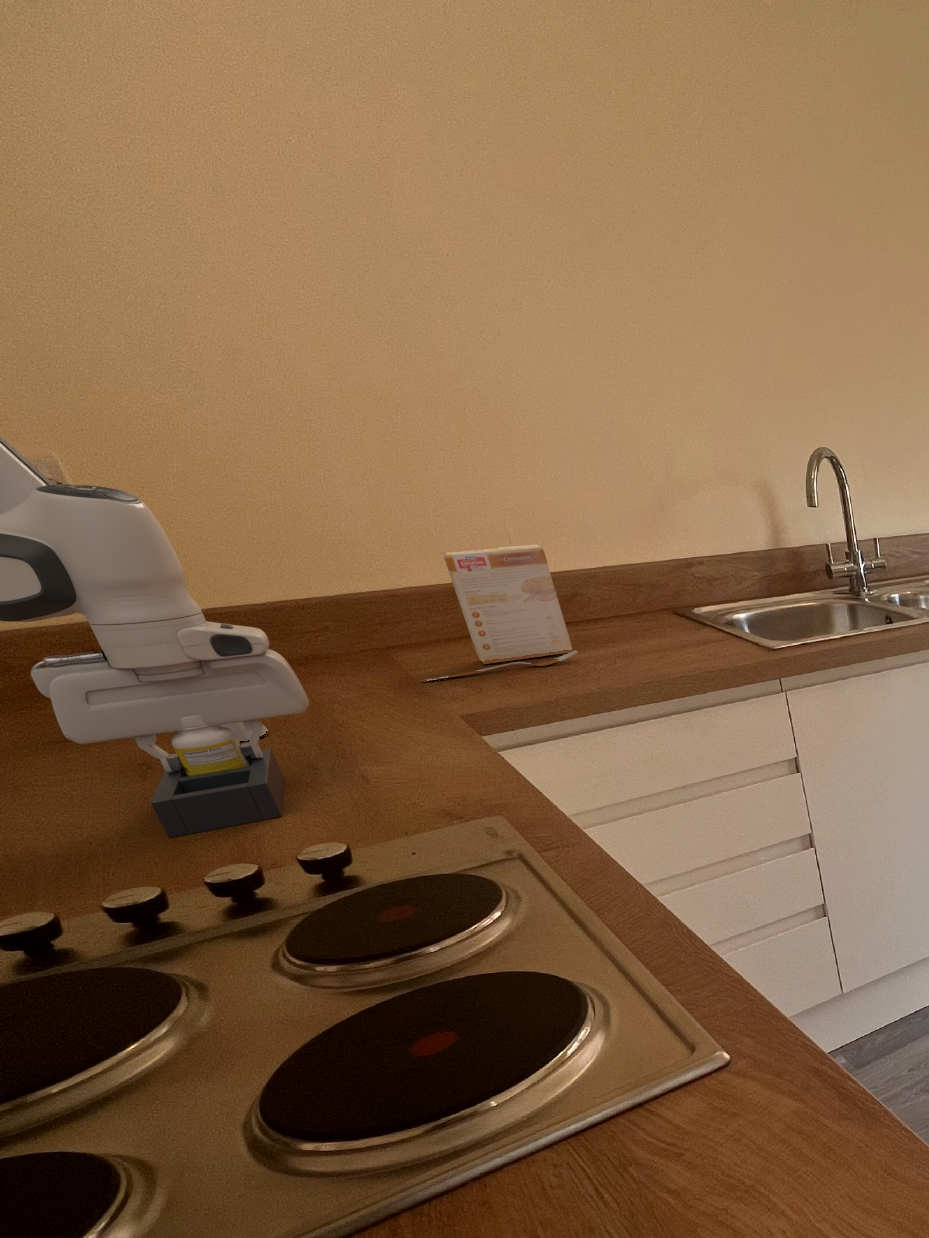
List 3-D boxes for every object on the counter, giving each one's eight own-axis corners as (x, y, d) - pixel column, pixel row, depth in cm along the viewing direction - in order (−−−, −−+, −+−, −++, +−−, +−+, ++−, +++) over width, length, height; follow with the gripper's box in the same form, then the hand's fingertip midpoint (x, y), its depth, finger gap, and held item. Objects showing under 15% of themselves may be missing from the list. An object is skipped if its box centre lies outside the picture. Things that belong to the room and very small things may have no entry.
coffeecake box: (567, 648, 187) (537, 543, 178) (574, 653, 182) (544, 546, 173) (477, 659, 178) (441, 550, 170) (482, 666, 173) (444, 553, 165)
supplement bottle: (213, 789, 113) (174, 709, 109) (269, 783, 115) (233, 704, 111) (189, 805, 109) (148, 721, 104) (248, 798, 110) (209, 716, 106)
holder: (168, 838, 101) (150, 802, 99) (183, 796, 113) (167, 764, 111) (281, 816, 106) (266, 782, 104) (284, 778, 118) (270, 747, 116)
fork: (420, 680, 164) (416, 670, 163) (578, 658, 178) (575, 649, 177) (422, 684, 161) (418, 673, 161) (582, 661, 175) (579, 652, 175)
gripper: (15, 664, 96) (85, 792, 102) (279, 635, 108) (328, 752, 114) (27, 653, 100) (94, 777, 107) (280, 628, 112) (327, 740, 118)
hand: (216, 764), depth 110 cm, fingers closed on supplement bottle, 5 cm apart
